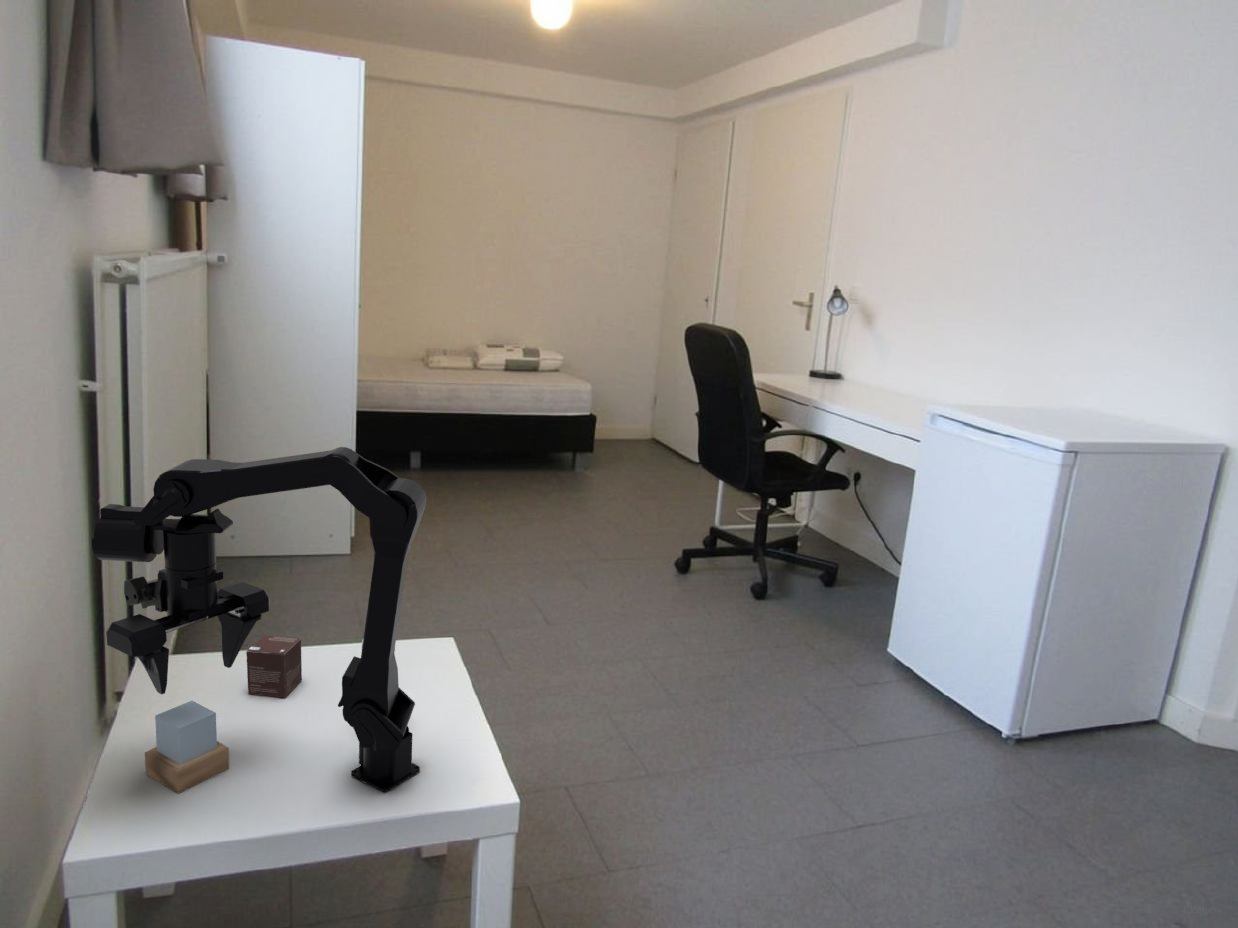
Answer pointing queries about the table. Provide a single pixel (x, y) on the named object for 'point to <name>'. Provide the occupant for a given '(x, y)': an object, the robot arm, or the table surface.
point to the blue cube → (186, 732)
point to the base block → (186, 768)
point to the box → (274, 666)
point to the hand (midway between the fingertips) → (195, 679)
